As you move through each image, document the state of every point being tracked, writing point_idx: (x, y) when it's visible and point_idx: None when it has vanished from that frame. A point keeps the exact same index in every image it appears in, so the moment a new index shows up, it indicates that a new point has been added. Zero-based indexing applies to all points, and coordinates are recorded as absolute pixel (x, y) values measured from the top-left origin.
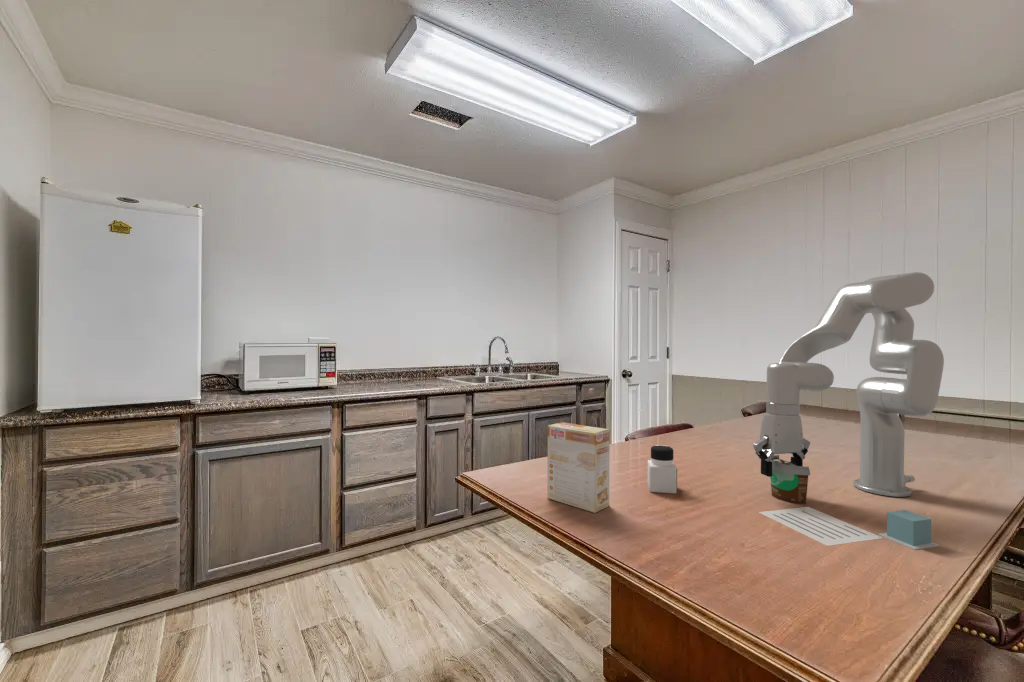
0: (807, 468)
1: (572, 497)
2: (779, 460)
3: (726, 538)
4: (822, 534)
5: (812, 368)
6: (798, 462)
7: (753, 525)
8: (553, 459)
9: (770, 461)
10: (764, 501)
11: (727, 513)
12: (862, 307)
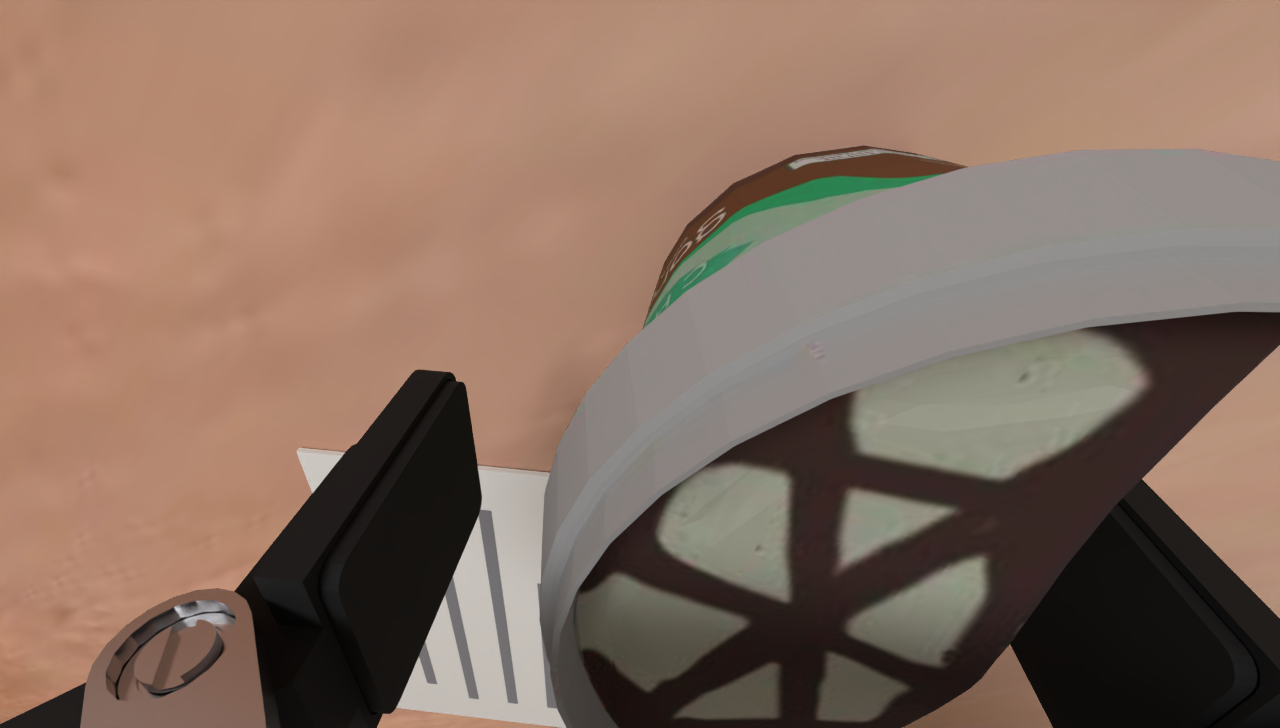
0: None
1: None
2: (1021, 452)
3: (2, 571)
4: (455, 672)
5: None
6: (1077, 717)
7: (185, 535)
8: None
9: (354, 720)
10: (498, 308)
11: (77, 389)
12: None
